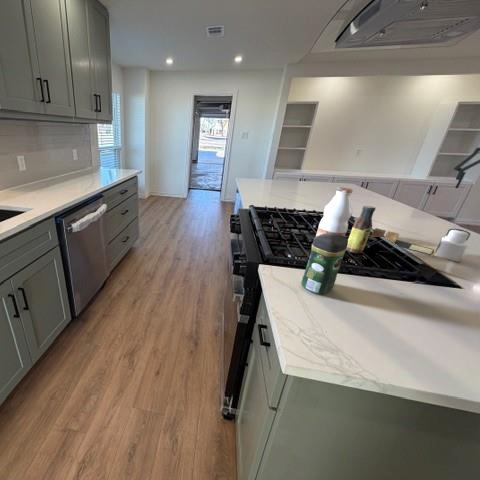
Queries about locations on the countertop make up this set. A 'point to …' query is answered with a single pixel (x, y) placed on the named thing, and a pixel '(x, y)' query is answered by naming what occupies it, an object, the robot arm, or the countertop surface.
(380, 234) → the walnut letter tile
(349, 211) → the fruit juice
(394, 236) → the maple letter tile
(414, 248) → the word mat
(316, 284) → the coffee jar
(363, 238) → the sauce bottle
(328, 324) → the countertop surface
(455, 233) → the medicine bottle
